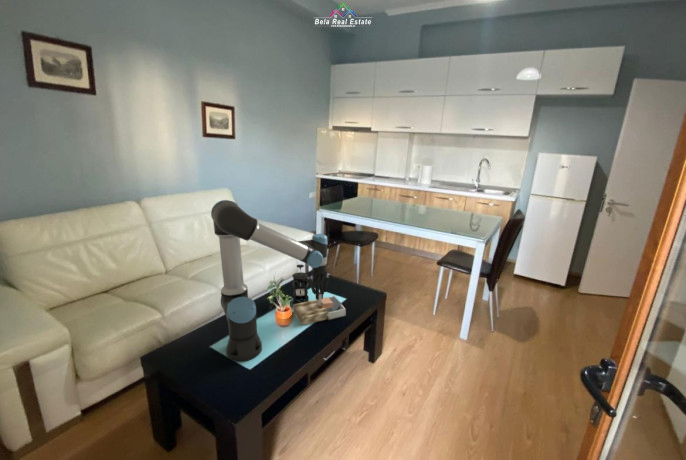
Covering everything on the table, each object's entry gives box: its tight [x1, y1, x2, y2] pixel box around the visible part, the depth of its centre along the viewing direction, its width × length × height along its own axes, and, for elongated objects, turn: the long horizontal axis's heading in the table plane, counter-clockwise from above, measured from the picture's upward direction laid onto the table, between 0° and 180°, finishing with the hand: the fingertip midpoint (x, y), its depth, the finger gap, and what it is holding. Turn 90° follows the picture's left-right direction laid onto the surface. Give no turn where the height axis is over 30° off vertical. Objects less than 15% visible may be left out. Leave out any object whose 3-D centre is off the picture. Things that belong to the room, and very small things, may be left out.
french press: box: [291, 264, 310, 306], centre depth 181 cm, size 12×9×23 cm
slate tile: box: [330, 295, 343, 311], centre depth 176 cm, size 6×6×3 cm
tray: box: [325, 295, 347, 321], centre depth 176 cm, size 10×16×4 cm, turn 27°
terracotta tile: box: [320, 297, 333, 308], centre depth 173 cm, size 6×6×3 cm
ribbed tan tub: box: [292, 299, 329, 326], centre depth 170 cm, size 14×14×6 cm
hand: (319, 304), depth 172 cm, fingers closed
